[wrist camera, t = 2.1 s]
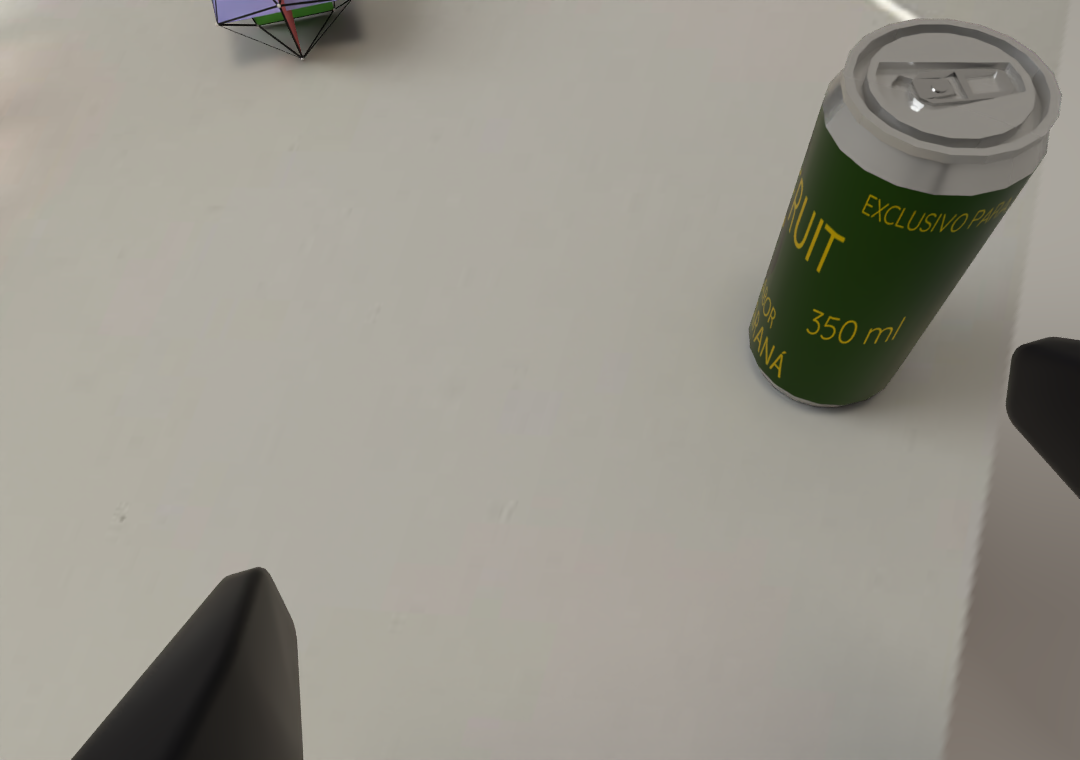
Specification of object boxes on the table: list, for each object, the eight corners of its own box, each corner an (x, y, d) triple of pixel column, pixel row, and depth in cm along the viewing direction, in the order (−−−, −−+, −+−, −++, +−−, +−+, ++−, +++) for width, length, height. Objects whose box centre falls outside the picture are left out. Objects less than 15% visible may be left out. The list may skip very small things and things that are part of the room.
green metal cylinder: (868, 288, 30) (1019, 3, 19) (912, 408, 27) (1114, 151, 17) (732, 300, 30) (809, 22, 19) (762, 421, 27) (869, 173, 17)
